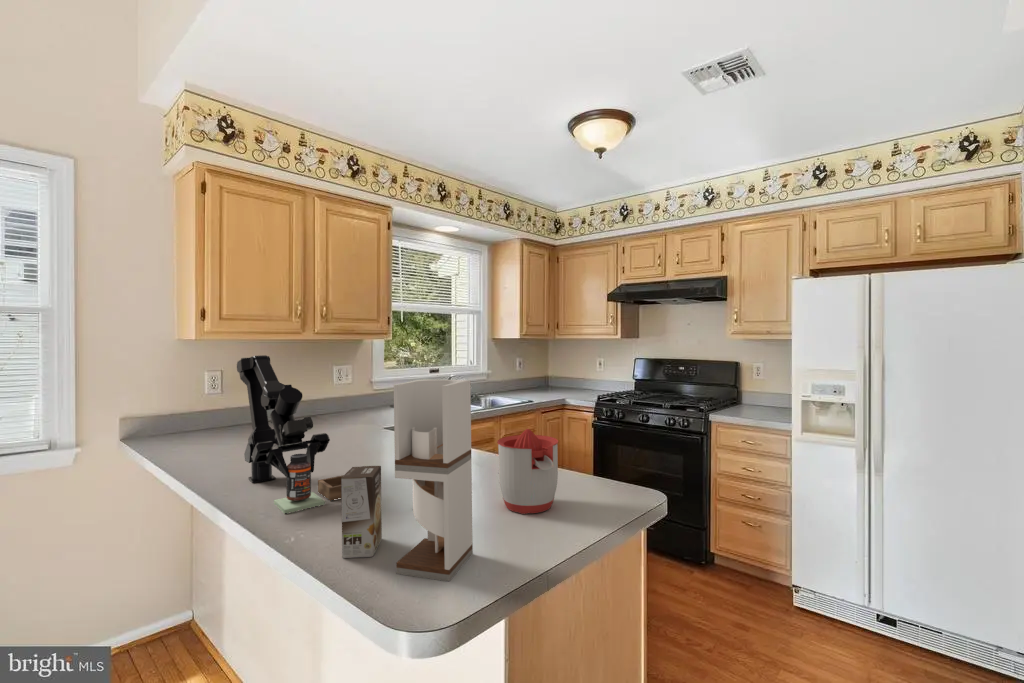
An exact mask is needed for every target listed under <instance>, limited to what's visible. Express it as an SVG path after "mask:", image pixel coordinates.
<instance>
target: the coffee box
mask: <svg viewBox="0 0 1024 683" xmlns="http://www.w3.org/2000/svg"><path fill="white" fill-rule="evenodd" d="M343 475H344V476H343V477H342V478H341V488H342V499H341V558H342V559H353V558H372V557H374V555H375V553H376V552H377V550H378V547H379V545H380V543H381V542H382V539H383V538H382V537H383V536H382V535H383V534H382V532H383V529H382V528H383V526H382V524H383V523H382V519H383V518H382V466H381V465H363V466H361V465H360V466H352V467H351V468H350V469H349V470H347V471H346V472H345V474H343Z"/></svg>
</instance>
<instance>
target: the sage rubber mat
mask: <svg viewBox="0 0 1024 683" xmlns="http://www.w3.org/2000/svg"><path fill="white" fill-rule="evenodd" d="M273 504H274V506H276V505H277V506H276V507H277V508H278V509H279V510H280V512H282V513H283V514H284V515H286V514H285V513H287V514H290V513H289V512H292V513H296V512H299V511H298V510H301V511H303V510H302V509H305V510H307V509H306V508H310V509H312V508H311V507H314V508H316V507H315V506H318V507H320V506H319V505H323V506H325V505H326V500H324V499H323V498H322V497H320V496H319V495H318V494H316V493H315V492H313V491H311V496H310V497H309V498H307V499H304V500H300V501H291V500H288V499H287V496H285V497H283V498H278V499H274V500H273ZM324 504H325V505H324ZM295 511H296V512H295Z"/></svg>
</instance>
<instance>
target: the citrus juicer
mask: <svg viewBox="0 0 1024 683" xmlns="http://www.w3.org/2000/svg"><path fill="white" fill-rule="evenodd" d="M497 444H498V446H497V448H498V481H499V482H498V483H499V490H500V492H501V497H502V500H503V503H504V506H505V507H506V508H507V510H509V511H512V512H516V513H519V514H521V515H526V514H536V513H542V512H546V511H547V510H549V509H551V507H552V504H553V502H554V500H555V495H556V491H557V486H558V477H559V476H558V475H559V471H558V470H559V469H558V468H559V467H558V464H559V463H558V462H559V461H558V453H559V452H558V444H559V440H558V439H557V438H555V437H552V436H548V435H539V434H535V433H534V432H533V431H532V430H531V429H530V428H526V429H525V430H524V431H523V432H521V434H517V435H516V434H515V435H508V436H504V437H501V438H499V439H498V440H497Z"/></svg>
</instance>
